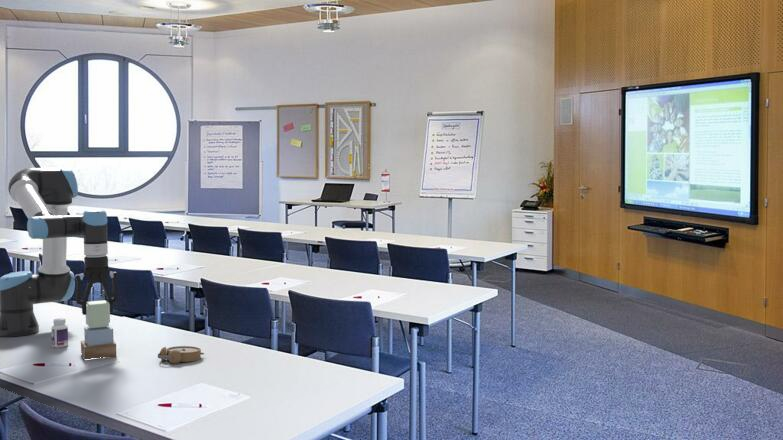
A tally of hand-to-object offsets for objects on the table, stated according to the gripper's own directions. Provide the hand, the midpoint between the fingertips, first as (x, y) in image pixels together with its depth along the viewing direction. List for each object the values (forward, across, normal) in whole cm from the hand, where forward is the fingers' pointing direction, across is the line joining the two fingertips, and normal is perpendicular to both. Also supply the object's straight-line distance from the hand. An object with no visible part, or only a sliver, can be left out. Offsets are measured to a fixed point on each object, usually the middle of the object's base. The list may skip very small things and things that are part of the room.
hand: (97, 322), depth 258 cm
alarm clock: (+12, +23, -19) cm, 32 cm away
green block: (+1, 0, 0) cm, 1 cm away
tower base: (+12, 0, 0) cm, 12 cm away
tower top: (+7, 0, 0) cm, 7 cm away
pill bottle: (+12, -10, +21) cm, 26 cm away
